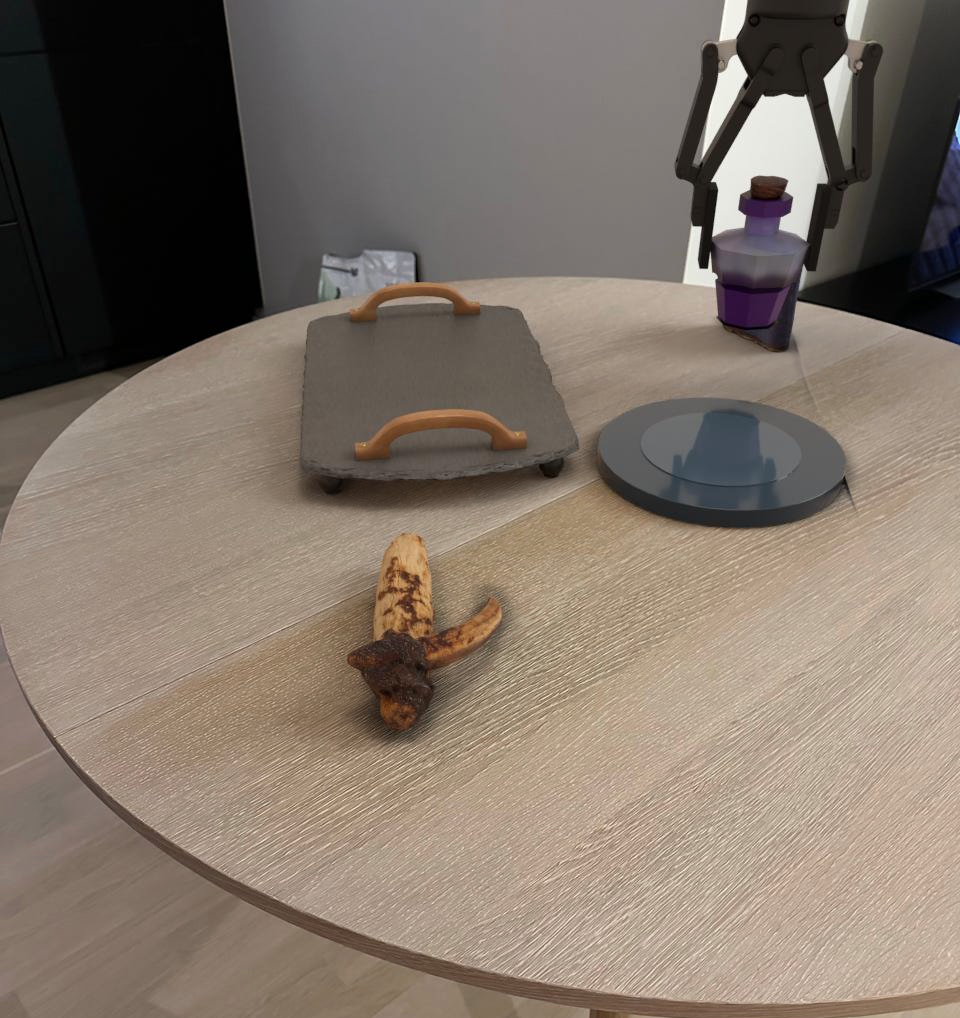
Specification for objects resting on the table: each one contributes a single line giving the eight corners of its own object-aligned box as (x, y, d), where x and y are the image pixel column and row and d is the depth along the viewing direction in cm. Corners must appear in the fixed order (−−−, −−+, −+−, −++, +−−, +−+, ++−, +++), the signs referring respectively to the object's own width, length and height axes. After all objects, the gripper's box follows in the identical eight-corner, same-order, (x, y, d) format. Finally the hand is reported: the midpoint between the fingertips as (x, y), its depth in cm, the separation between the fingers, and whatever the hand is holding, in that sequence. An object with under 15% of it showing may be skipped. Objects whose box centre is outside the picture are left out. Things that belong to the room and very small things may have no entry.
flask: (717, 325, 105) (732, 222, 99) (738, 321, 106) (755, 218, 100) (775, 354, 99) (795, 246, 92) (797, 348, 100) (818, 241, 93)
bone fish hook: (508, 743, 55) (498, 563, 69) (512, 682, 52) (500, 507, 66) (346, 743, 55) (368, 562, 69) (340, 682, 52) (364, 506, 66)
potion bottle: (750, 297, 93) (771, 161, 85) (816, 324, 87) (845, 181, 80) (680, 314, 90) (696, 174, 82) (743, 343, 84) (767, 196, 76)
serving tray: (309, 335, 105) (302, 277, 101) (519, 322, 107) (519, 265, 103) (300, 518, 75) (289, 445, 71) (592, 495, 77) (597, 423, 73)
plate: (821, 417, 87) (825, 399, 86) (863, 534, 71) (869, 515, 70) (599, 409, 89) (600, 392, 88) (593, 521, 74) (595, 502, 72)
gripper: (661, -43, 69) (634, 276, 83) (969, -46, 67) (888, 282, 81) (659, -49, 75) (634, 250, 89) (942, -52, 73) (871, 255, 87)
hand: (755, 265), depth 85 cm, fingers closed on potion bottle, 8 cm apart
